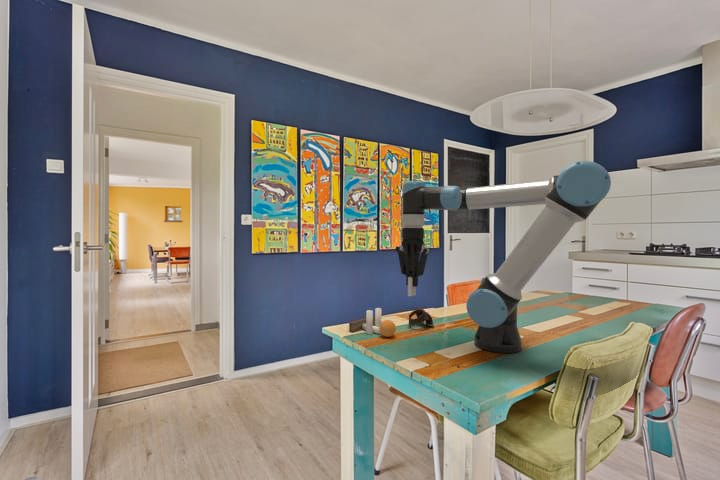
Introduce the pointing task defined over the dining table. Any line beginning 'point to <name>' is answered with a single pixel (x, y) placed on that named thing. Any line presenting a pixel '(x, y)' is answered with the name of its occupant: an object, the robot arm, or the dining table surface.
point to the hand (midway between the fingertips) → (411, 295)
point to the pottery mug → (420, 318)
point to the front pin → (375, 329)
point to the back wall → (358, 325)
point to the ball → (387, 328)
